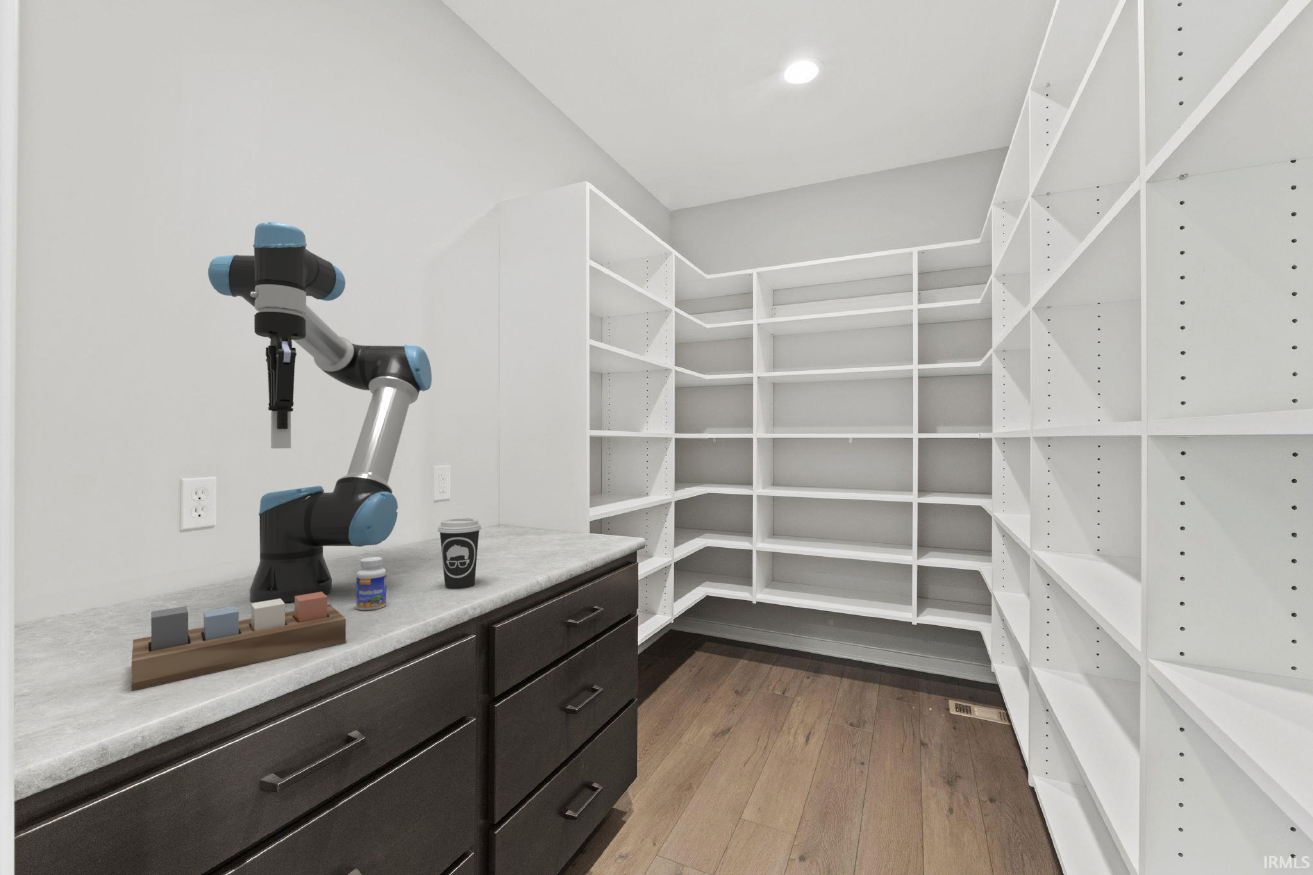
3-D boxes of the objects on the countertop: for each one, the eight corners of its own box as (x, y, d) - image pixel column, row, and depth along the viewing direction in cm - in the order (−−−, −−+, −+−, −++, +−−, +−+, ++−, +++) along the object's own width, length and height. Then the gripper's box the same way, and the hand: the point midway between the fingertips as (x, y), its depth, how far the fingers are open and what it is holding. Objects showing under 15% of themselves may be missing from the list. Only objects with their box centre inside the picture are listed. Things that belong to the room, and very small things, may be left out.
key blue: (203, 643, 86) (203, 611, 86) (235, 637, 89) (235, 605, 89) (205, 650, 83) (205, 617, 83) (238, 643, 86) (238, 611, 86)
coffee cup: (490, 583, 130) (490, 519, 130) (455, 593, 122) (455, 524, 122) (463, 578, 136) (463, 516, 136) (428, 587, 128) (428, 521, 128)
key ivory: (251, 634, 90) (251, 603, 90) (280, 628, 93) (280, 598, 93) (254, 640, 87) (254, 608, 87) (284, 634, 90) (284, 603, 90)
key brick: (294, 625, 94) (294, 596, 94) (321, 620, 97) (321, 591, 97) (299, 631, 91) (299, 601, 91) (327, 626, 94) (327, 596, 94)
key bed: (133, 666, 83) (133, 639, 83) (329, 626, 101) (329, 604, 101) (131, 690, 75) (131, 661, 75) (345, 642, 93) (345, 618, 93)
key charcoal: (151, 645, 82) (151, 611, 82) (186, 638, 85) (186, 605, 85) (151, 652, 79) (151, 617, 79) (188, 645, 82) (188, 611, 82)
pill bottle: (355, 612, 109) (355, 563, 109) (356, 605, 114) (356, 557, 114) (386, 608, 111) (386, 560, 111) (386, 601, 116) (385, 555, 116)
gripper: (249, 317, 100) (249, 448, 100) (260, 304, 91) (260, 449, 91) (298, 323, 105) (298, 447, 105) (313, 311, 96) (313, 448, 96)
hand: (281, 448), depth 98 cm, fingers closed
